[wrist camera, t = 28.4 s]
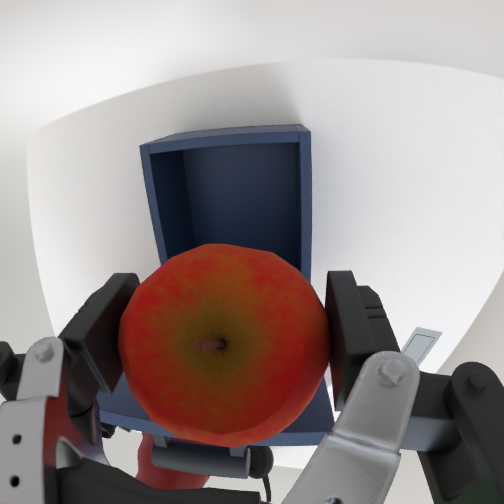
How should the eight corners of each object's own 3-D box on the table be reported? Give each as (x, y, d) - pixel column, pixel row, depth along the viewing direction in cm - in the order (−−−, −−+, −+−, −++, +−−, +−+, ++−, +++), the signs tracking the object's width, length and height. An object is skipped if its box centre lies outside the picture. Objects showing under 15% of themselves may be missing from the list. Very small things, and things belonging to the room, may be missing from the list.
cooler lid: (60, 397, 11) (87, 468, 12) (336, 430, 10) (323, 502, 10) (171, 313, 28) (176, 361, 28) (309, 314, 26) (308, 365, 27)
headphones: (220, 418, 50) (201, 513, 33) (285, 440, 53) (281, 527, 35) (202, 433, 54) (183, 517, 37) (263, 453, 57) (256, 532, 39)
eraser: (345, 359, 41) (349, 378, 37) (324, 377, 43) (326, 396, 40) (339, 356, 40) (342, 375, 37) (318, 374, 43) (319, 393, 39)
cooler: (175, 133, 29) (138, 145, 21) (302, 124, 27) (310, 131, 20) (195, 268, 36) (172, 314, 28) (303, 266, 34) (309, 315, 27)
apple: (282, 263, 15) (276, 186, 8) (334, 378, 13) (381, 406, 6) (167, 313, 15) (76, 278, 8) (212, 426, 13) (146, 484, 6)
